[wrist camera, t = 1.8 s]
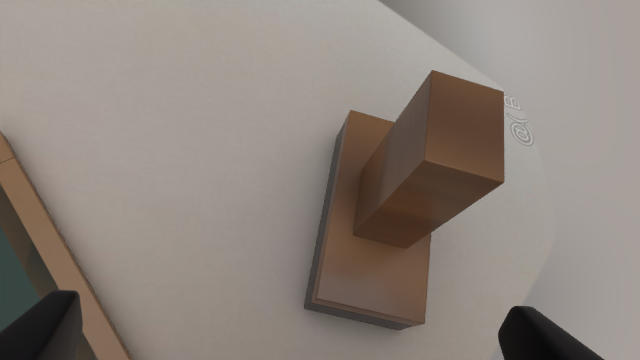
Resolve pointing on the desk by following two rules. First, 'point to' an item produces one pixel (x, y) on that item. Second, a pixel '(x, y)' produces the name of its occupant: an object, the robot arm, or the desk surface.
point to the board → (43, 263)
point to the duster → (402, 198)
